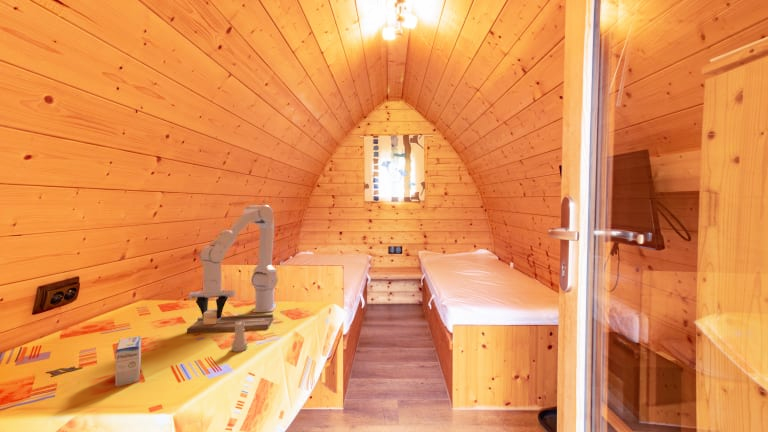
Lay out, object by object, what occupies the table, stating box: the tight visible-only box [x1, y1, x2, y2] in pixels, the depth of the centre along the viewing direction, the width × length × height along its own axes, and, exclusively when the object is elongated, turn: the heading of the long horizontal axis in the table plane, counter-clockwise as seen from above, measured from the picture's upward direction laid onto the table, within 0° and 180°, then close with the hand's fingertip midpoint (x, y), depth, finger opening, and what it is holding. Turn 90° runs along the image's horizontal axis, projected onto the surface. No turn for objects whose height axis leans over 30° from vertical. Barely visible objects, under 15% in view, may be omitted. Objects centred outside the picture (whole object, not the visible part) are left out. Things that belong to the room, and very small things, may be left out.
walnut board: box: [186, 313, 274, 334], centre depth 113 cm, size 10×26×2 cm, turn 99°
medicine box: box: [114, 335, 142, 387], centre depth 77 cm, size 8×4×9 cm, turn 35°
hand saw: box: [45, 366, 84, 378], centre depth 88 cm, size 24×5×1 cm, turn 143°
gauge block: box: [202, 308, 222, 325], centre depth 112 cm, size 5×4×4 cm
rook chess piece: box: [231, 321, 248, 353], centre depth 94 cm, size 4×4×8 cm
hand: (212, 317), depth 112 cm, fingers closed on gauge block, 4 cm apart
